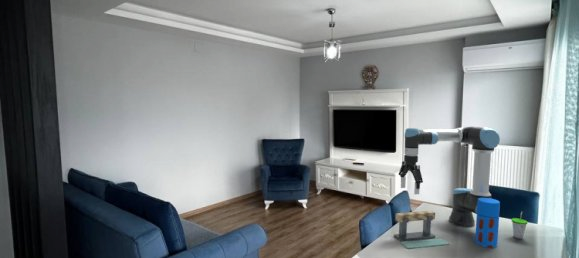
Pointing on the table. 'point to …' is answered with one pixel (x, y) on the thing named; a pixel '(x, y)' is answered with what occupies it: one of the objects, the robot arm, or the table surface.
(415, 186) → the robot arm
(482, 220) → the thermos
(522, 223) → the cup
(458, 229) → the table surface
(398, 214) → the rail
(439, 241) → the mat
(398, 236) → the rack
